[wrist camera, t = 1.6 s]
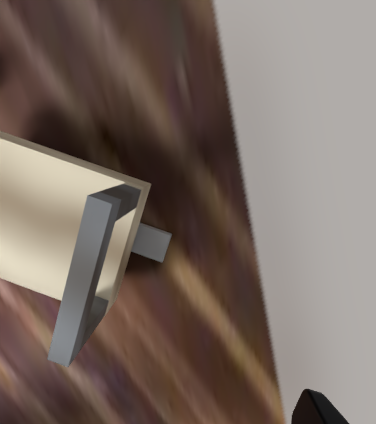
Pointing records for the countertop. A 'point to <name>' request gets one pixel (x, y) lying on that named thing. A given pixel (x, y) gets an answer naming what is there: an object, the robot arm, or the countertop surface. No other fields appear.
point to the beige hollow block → (66, 234)
